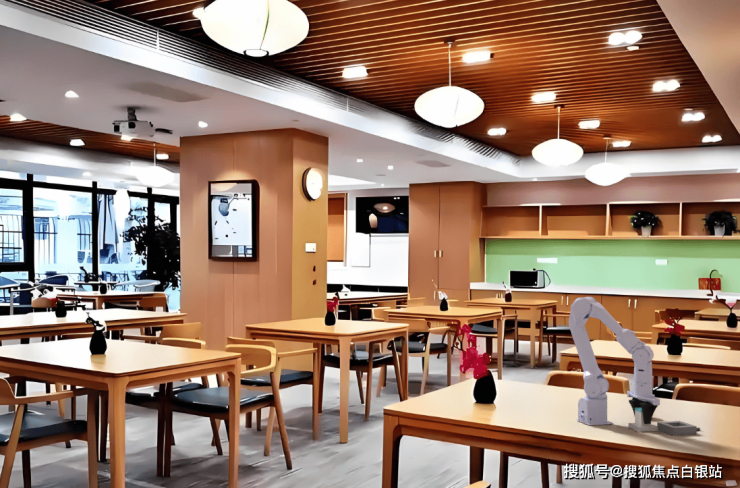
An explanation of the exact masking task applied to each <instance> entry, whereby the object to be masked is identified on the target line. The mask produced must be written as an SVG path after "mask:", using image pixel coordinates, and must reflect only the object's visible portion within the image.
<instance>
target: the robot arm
mask: <svg viewBox="0 0 740 488" xmlns="http://www.w3.org/2000/svg"><path fill="white" fill-rule="evenodd" d="M590 317H591V318H593V319H597V320H600V321H601V322H602V323H603V324H604V325H605V326H606V327H607V328H608V329H609V330H610V331H611V332H612V333H614V335H615V336H616V338H615V339H616V342H617V343H619V345H620V346H622V348H623V349H624V350H625V351H626V352H628V353H629V355H631V358H632V361H633V363H634V368H633V379H634V380H633V390H629V391H628V390H627V392H626V395H627V398H631V399H628V403H629V405H630V406H631V409H632V412H633V415H634V417H635V408H638V407H641V408H642V411H643V421H644V424H652V421H653V416H654V414H655V412H656V409H657V408H658V407H659V406H660V405H661V399H660V398H657V397H656V396H655V394H653V362H652V360H653V359H654V356H655V354H654V351H653V349H652V348H651V346H649V345H646V342H645V341H641V339H640V338H639V337H638V336H637V335H636V331H634V330H631V329H630V328H623V326H622V325H621V324H620V323H619V322H618V321H617V320H616V319H615V318H614V317H613V316H612V315H611V313H610V312H609V311H608V310H607V309H606V308H605V306H603V304H601V303H600V302H598V301H597V299H596V298H595V297H593V296H585V297H584V296H583V297H582V296H581V297H577V298H576V299H575V300H573V302H572V304H571V305H570V313H569V318H568V323H567V324H568V327H569V330H570V332H571V336H572V340H573V342H574V346H575V348H576V351H577V355H578V357H579V361H580V364H581V367H582V370H583V377H582V378H583V382H584V384H583V390H584V393H585V397H581V398H579V400H578V402H577V418H576V421H577V422H580V423H582V424H584V425H588V426H600V425H613V422H612V421H609V420H608V395H607V392H608V390H609V388H610V384H609V383H610V382H609V381H608V379H606V378H607V377H605V375H604V374H603V371H602V370H601V369H600V368H599V365H598V362H597V358H596V356H595V353H594V350H593V347H592V344H591V342H590V341H591V340H590V338H589V334H588V331H587V329H586V326H585V325H586V323H587V322H588V320H589V318H590Z"/></svg>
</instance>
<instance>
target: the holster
mask: <svg viewBox="0 0 740 488" xmlns="http://www.w3.org/2000/svg"><path fill="white" fill-rule="evenodd" d="M627 424H628V428H629V429H632V430H634V431H637V432H640V433H642V432H644V433H645V432H656V431H659V430H658V426H657V424H653V423H651V426H642V427H640V426H638V425H635V422H628V423H627Z"/></svg>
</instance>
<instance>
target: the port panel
mask: <svg viewBox="0 0 740 488" xmlns="http://www.w3.org/2000/svg"><path fill="white" fill-rule="evenodd" d="M656 426H658V431H659V430H660V431H659V432H663V433H665V434H668V435H670V434H671V436H673V435H675V436H685V435H686V436H687V435H688V436H689V435H697V433H698V432H697V431H701V427H697V425H694V424H690V423H687V422H685V421H681V420H674V421H673V420H671V421H659V422H658V421H657V422H656Z"/></svg>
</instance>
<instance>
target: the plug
mask: <svg viewBox="0 0 740 488" xmlns="http://www.w3.org/2000/svg"><path fill="white" fill-rule="evenodd" d="M634 423H635V425H638V426H640V427H642V426H651V424H652V423H651V424H644V421H643V411H642V408H641V407H638V408H635V416H634Z"/></svg>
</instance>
